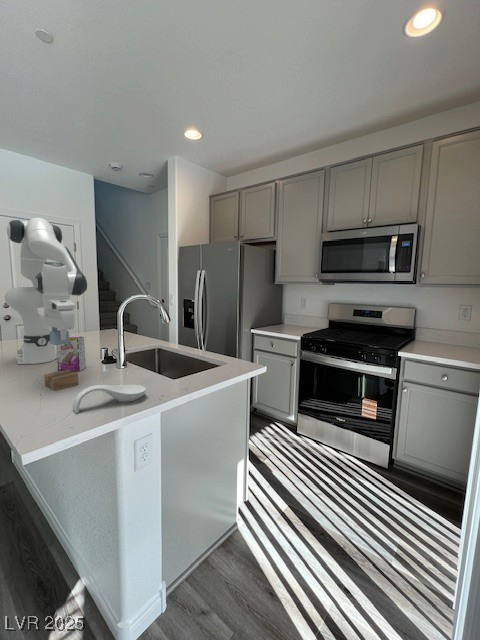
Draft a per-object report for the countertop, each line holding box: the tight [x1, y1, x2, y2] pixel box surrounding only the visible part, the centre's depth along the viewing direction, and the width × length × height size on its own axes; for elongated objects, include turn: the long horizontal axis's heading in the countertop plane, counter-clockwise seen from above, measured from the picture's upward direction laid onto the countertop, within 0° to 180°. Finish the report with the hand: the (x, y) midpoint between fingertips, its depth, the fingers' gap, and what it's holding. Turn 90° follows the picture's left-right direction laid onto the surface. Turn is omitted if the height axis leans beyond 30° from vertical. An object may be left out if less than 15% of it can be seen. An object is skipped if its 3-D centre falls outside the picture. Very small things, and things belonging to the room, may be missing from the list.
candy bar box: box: [56, 334, 87, 372], centre depth 140 cm, size 11×5×16 cm, turn 84°
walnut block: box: [43, 370, 79, 392], centre depth 119 cm, size 9×9×5 cm
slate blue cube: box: [50, 329, 70, 346], centre depth 117 cm, size 5×5×5 cm
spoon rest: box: [72, 384, 147, 414], centre depth 102 cm, size 24×12×7 cm, turn 131°
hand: (59, 338), depth 117 cm, fingers closed on slate blue cube, 5 cm apart
